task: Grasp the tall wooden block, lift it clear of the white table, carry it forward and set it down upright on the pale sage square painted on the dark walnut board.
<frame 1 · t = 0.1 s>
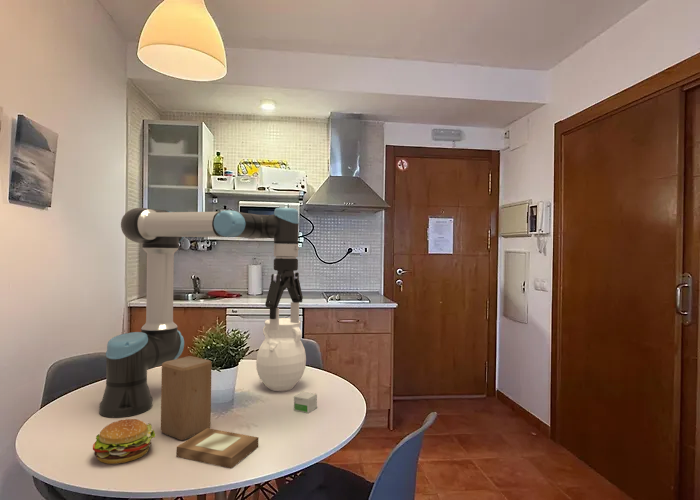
hand: (284, 326, 136), 28 cm above the table, fingers open, 13 cm apart
food: (126, 454, 110), on the table
board: (218, 451, 111), on the table
small box: (305, 410, 142), on the table
wooden block: (185, 432, 123), on the table
pitcher: (281, 387, 164), on the table
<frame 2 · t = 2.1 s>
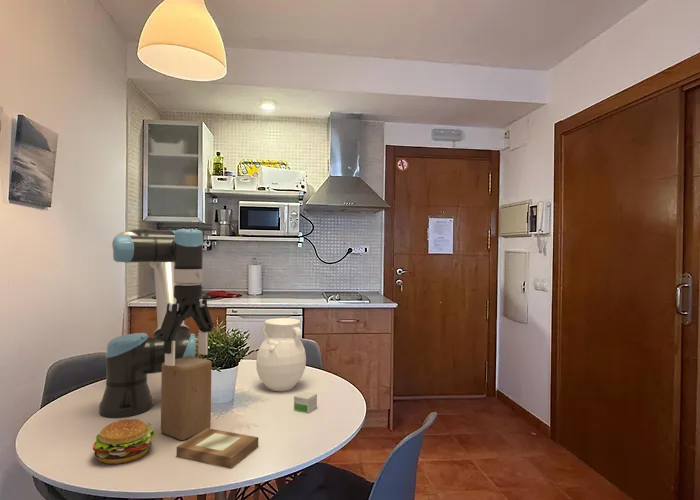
hand: (187, 359, 123), 20 cm above the table, fingers open, 13 cm apart
nothing on the table moved.
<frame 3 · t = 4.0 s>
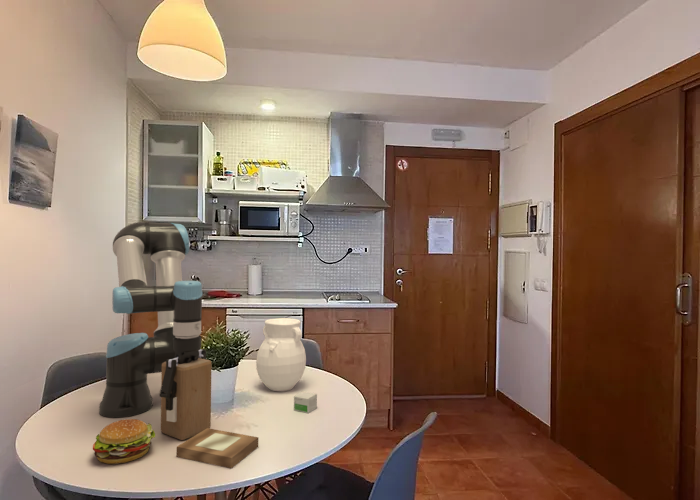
hand: (186, 413, 123), 5 cm above the table, fingers closed on wooden block, 11 cm apart
wooden block: (185, 432, 123), on the table, touching gripper
everything else where it was.
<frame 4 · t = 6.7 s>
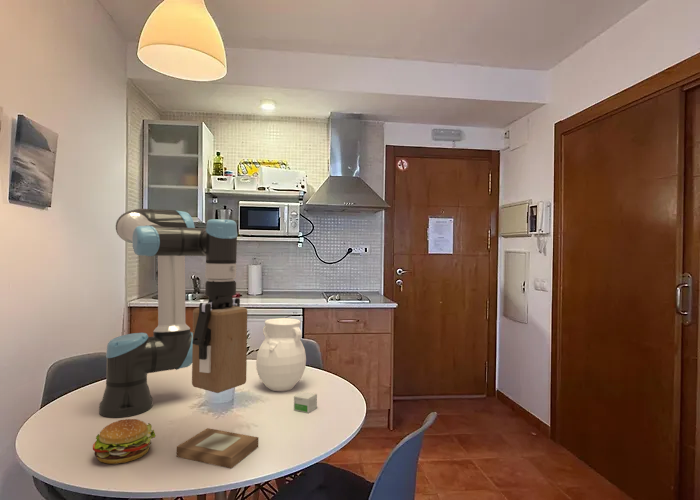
hand: (219, 366, 111), 22 cm above the table, fingers closed on wooden block, 11 cm apart
wooden block: (219, 386, 111), point 17 cm above the table, touching gripper
everything else where it was.
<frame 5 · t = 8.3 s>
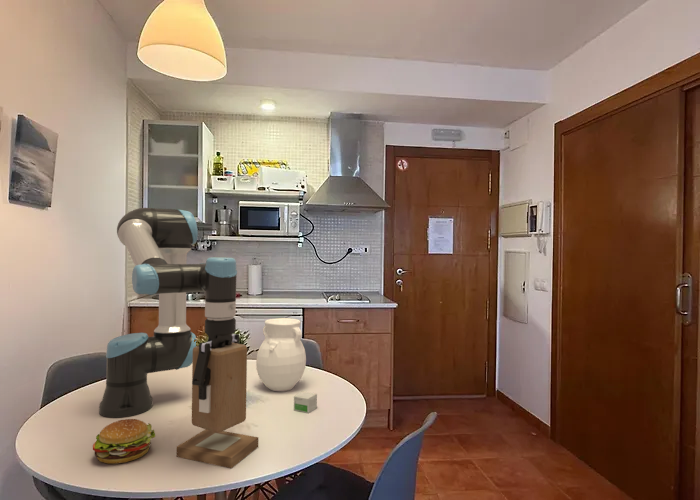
hand: (219, 404, 111), 12 cm above the table, fingers closed on wooden block, 11 cm apart
wooden block: (219, 424, 111), point 7 cm above the table, touching gripper
everything else where it was.
when the fingers open (9 cm above the table, at t = 9.6 s): wooden block drops 1 cm, resting on board.
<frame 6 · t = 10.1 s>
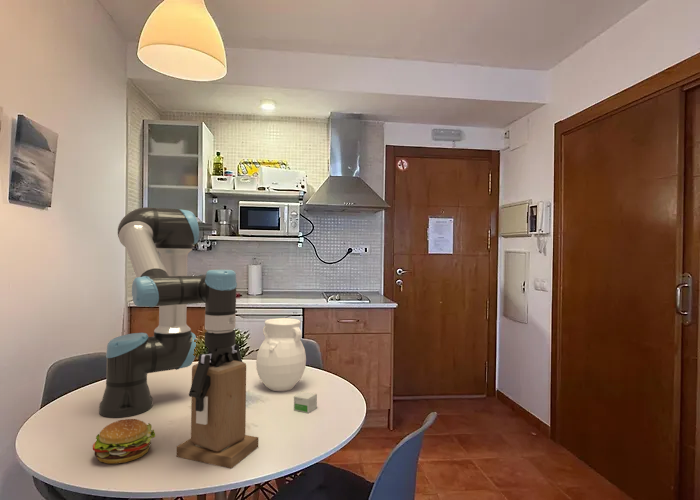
hand: (219, 413, 111), 10 cm above the table, fingers open, 13 cm apart
wooden block: (218, 442, 111), point 2 cm above the table, touching board
everything else where it was.
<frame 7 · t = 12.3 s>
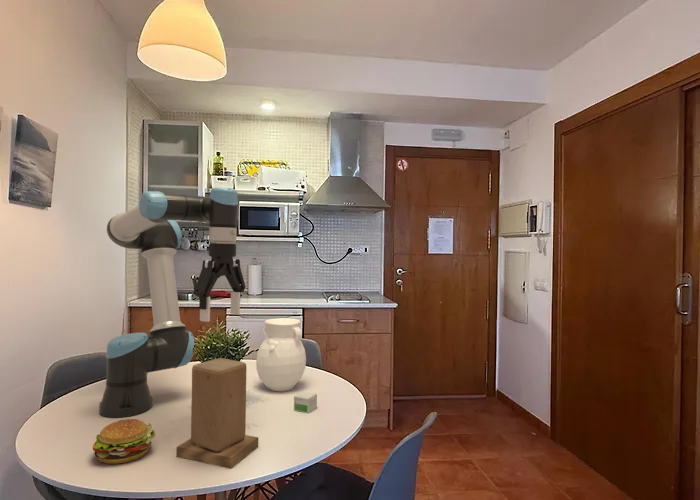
hand: (220, 317, 124), 32 cm above the table, fingers open, 13 cm apart
nothing on the table moved.
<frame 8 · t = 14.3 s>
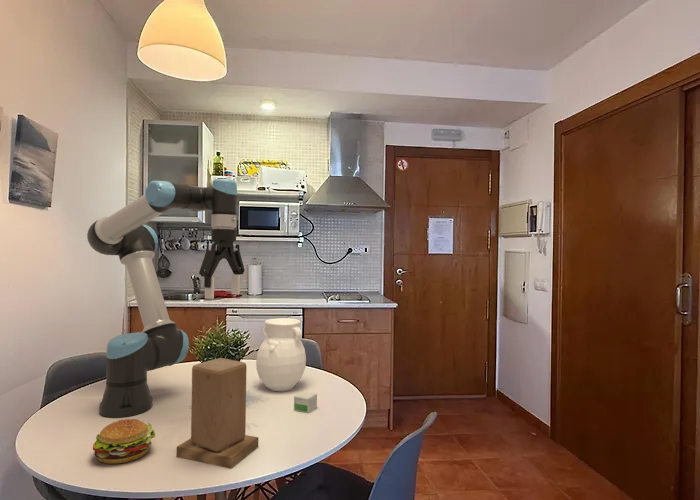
hand: (223, 296, 137), 37 cm above the table, fingers open, 13 cm apart
nothing on the table moved.
at the end: wooden block inside the target area on the board (0.1 cm from its centre), point 2.4 cm above the board's base; wooden block tilted 0°; the gripper is holding nothing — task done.
